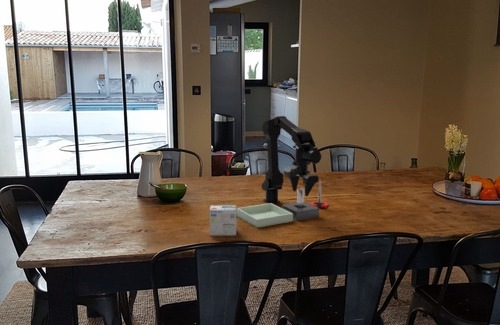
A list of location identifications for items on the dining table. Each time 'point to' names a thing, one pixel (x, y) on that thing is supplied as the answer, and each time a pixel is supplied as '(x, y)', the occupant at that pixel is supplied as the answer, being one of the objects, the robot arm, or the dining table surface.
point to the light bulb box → (223, 220)
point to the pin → (300, 198)
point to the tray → (264, 215)
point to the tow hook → (319, 200)
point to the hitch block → (302, 211)
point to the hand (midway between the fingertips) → (300, 193)
